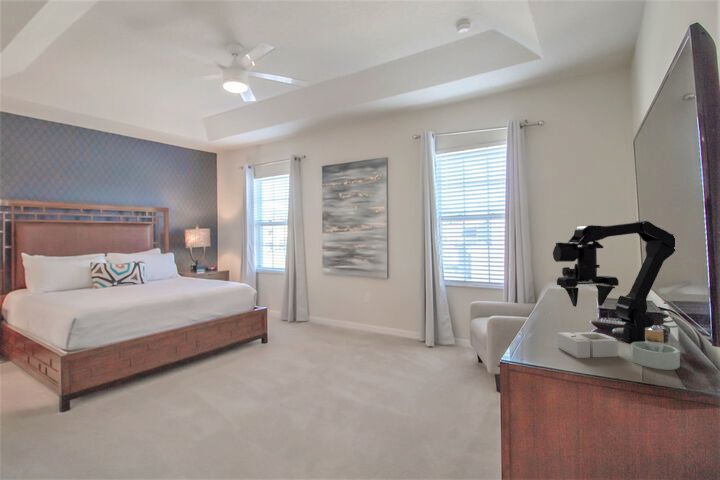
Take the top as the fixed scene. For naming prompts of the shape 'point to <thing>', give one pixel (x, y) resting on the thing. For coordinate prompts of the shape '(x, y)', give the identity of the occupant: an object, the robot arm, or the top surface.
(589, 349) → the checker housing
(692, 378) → the top surface
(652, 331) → the battery cell
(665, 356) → the cup
